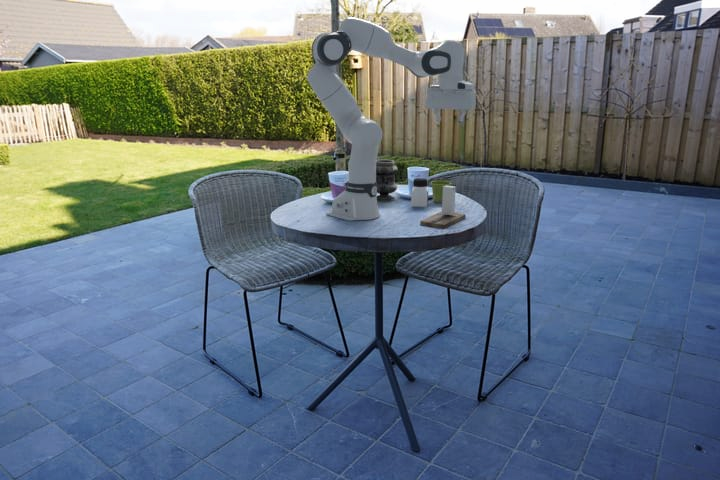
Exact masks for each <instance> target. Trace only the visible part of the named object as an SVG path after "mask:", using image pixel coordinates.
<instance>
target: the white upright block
mask: <svg viewBox="0 0 720 480" xmlns="http://www.w3.org/2000/svg"><path fill="white" fill-rule="evenodd" d="M456 188H457V187H456V186H453V185H450V186H447V185H446V186H443V197H442V203H441V212H442V214H445V215H453V214H454V213H455V211H456V210H455V208H456V205H455V204H456Z"/></svg>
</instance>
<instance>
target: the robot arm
mask: <svg viewBox="0 0 720 480" xmlns="http://www.w3.org/2000/svg"><path fill="white" fill-rule="evenodd" d="M311 45H312V46H311V54H312V59H313V66H312V67H311V68H310V69H309V71H308V73H307V81H308V83H309V85H310V87H311V89H312V91H313V93H314V94H315V96H316V97H317V99H318V100H319V101H320V103H321V104H322V105H323V107H324V108H325V109H326V110H327V112H328V113H329V114H330V116H331V117H332V119H333V120H334V122H335V123H336V125H337V127H338V129H339V130H340V132H341V134H342V135H343V136H344V138H345V139H346V141H347V142H348V143H349V144H350V145H351V148H350V150H351V151H350V156H349V160H348V162H347V165H348V167H347V168H348V169H347V170H348V172H347V174H348V178H347V179H348V181H347V182H345V183H343V185H342V186H343V187H345V189H344V190H343V191H342V192H341V193H340V194H339V195H337V196H336V197H335V198H334V199H333V200H332V205H331V209H328V210H327V211H326V215H328V216H331V217H334V218H338V219H340V220H341V219H342V220H345V221H349V222H351V221H364V220H365V221H367V220H368V221H369V220H374V219H378V218H379V217H380V216H381V213H380V210H379V206H378V200H377V196H378V195H377V194H378V193H377V181H376V160H378V159H377V158H378V154H379V149H380V144H381V142H382V140H383V129H382V127H381V126H380V125H379V123H377V122H376V121H375V120H374V119H371V118H367V117H366V116H364V114H363V112H362V111H361V109H360V107H359V104H358V103H357V99H356V97H354V95H353V94H352V92H351V90H349V88H348V87H347V85H346V84H345V82H344V81H343V80H342V78H341V77H340V76H339V74H338V71H337V67H336V66H338V65H340V64H341V63H342V62H343V61H344V60H345V59H346V57H347V56H348V54H349V52H350V51H355V52H358V53H359V54H363V55H366V56H368V57H372V58H378V59H385V60H389V61H391V62H393V63H396V64H398V65H400V66H403V67H405V68H406V69H407V70H408V71H410V73H411V74H412V75H413V76H414V77H417V78H420V79H421V78H427V77H433V76H437V75H439V84H435V85H433V84H432V85H431V84H430V86H428V87H427V89H426V99H425V108H426V109H427V110H433V114H434V115H435V121H436V122H441V121H442V116H440V114H439V112H440V110H452V111H453V110H456V111H458V110H459V111H460V116H459V117H457V122H458V123H462V122H464V118H465V116H466V114H467V111H473V110H475V108H476V105H477V99H476V92H475V91H474V90H475V84H474V83H471V82H469V81H466V80H465V79H464V75H463V68H464V65H465V63H464V60H465V56H464V51H465V50H464V46H463V44H462V42H460V41H458V40H454V39H445V40H443V41H442V42H441V43H440V44H438V45H437V46H433V47H432V48H430V49H426V50H417V51H414V50H411V49H408V48H406V47H403V46H401V45H399V44H397V43H396V42H395V41H393V39H392V35H391V33H390V31H389V30H387V29H386V28H384V27H383V26H380V25H379V24H376V23H374V22H372V21H369V20H366V19H362V18H357V17H353V16H348V17H345V18H344V19H343V20H342V21H341V23H340V24H339V26H338V30H337V31H334V32H324V33H322V34H319V35H317V36H316V37H315V39H314V40H313V42H312V44H311Z"/></svg>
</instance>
